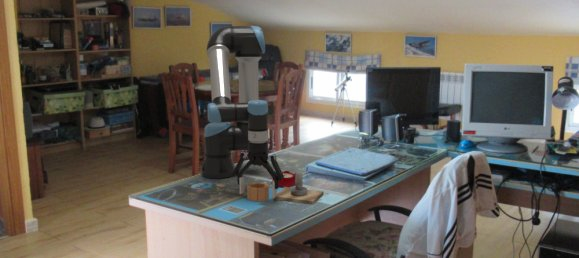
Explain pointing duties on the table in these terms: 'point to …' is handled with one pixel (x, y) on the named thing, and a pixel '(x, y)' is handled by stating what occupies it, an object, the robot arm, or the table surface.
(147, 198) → the table surface
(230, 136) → the robot arm
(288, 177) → the alarm clock
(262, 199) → the ring
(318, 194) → the post board
